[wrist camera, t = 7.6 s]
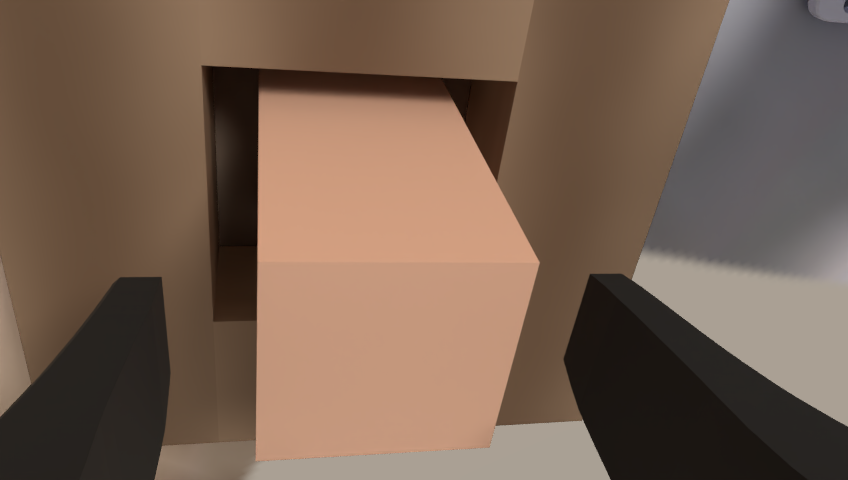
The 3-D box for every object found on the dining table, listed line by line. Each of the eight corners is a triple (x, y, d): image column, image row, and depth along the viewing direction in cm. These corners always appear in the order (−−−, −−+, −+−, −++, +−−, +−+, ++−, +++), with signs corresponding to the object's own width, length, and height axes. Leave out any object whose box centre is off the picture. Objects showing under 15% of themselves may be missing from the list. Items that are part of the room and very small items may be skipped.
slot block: (690, -141, 15) (770, -119, 13) (548, 349, 23) (582, 420, 21) (-43, -236, 12) (-117, -232, 10) (73, 365, 20) (47, 451, 18)
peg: (433, 64, 17) (540, 262, 10) (411, 208, 19) (489, 447, 13) (259, 52, 16) (257, 262, 10) (257, 205, 18) (255, 461, 12)
